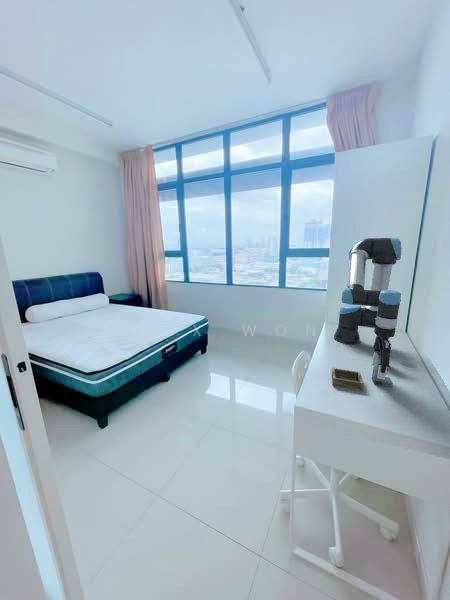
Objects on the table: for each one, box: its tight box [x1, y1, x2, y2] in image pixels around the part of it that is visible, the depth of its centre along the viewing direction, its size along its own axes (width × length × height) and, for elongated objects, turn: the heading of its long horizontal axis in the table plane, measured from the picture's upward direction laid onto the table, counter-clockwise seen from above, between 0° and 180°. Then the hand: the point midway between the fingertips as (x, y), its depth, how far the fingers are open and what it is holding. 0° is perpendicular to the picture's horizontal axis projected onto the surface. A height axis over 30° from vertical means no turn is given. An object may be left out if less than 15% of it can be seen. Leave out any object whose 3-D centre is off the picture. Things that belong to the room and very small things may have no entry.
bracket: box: [371, 351, 393, 388], centre depth 110 cm, size 7×5×14 cm
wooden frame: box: [331, 367, 365, 392], centre depth 112 cm, size 10×12×4 cm
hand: (378, 371), depth 111 cm, fingers open, 11 cm apart
